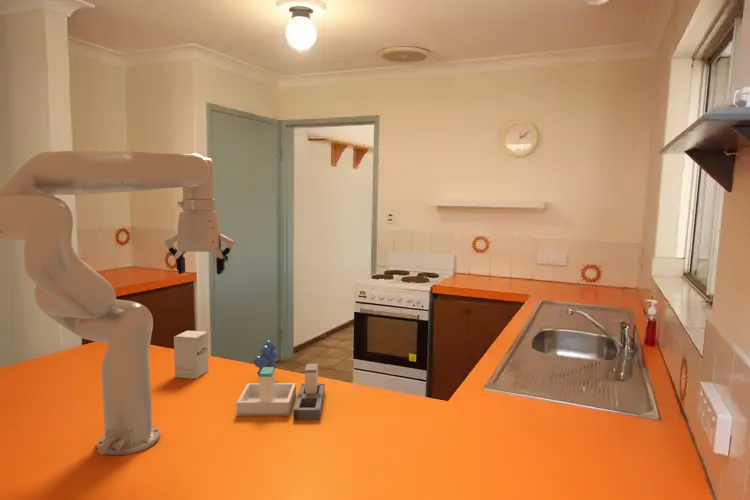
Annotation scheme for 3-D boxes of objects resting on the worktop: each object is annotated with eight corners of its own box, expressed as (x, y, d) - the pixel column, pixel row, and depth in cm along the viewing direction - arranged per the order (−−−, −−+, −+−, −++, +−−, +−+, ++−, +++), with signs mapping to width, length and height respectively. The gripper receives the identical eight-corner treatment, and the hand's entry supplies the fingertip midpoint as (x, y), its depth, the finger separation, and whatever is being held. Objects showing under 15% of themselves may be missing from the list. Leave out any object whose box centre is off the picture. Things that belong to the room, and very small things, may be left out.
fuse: (316, 402, 137) (316, 370, 136) (305, 402, 137) (304, 370, 136) (318, 394, 142) (317, 363, 141) (307, 394, 142) (306, 363, 141)
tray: (289, 415, 129) (289, 402, 128) (236, 416, 128) (236, 402, 128) (295, 395, 141) (295, 383, 141) (248, 395, 141) (247, 383, 141)
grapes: (259, 373, 158) (259, 335, 157) (281, 374, 157) (281, 336, 156) (246, 387, 147) (245, 346, 145) (269, 389, 146) (269, 347, 145)
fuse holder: (319, 419, 127) (319, 409, 126) (293, 419, 126) (293, 409, 126) (324, 392, 144) (324, 383, 144) (301, 392, 144) (301, 383, 143)
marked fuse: (271, 406, 132) (271, 373, 131) (260, 407, 132) (259, 373, 131) (274, 399, 137) (274, 367, 136) (263, 399, 137) (262, 367, 136)
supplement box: (196, 379, 153) (195, 337, 152) (174, 377, 155) (172, 336, 153) (209, 371, 160) (208, 331, 159) (187, 369, 162) (186, 329, 160)
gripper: (158, 206, 127) (161, 275, 129) (229, 207, 128) (231, 275, 130) (169, 205, 135) (172, 271, 137) (236, 206, 135) (238, 271, 137)
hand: (200, 273), depth 133 cm, fingers open, 9 cm apart
